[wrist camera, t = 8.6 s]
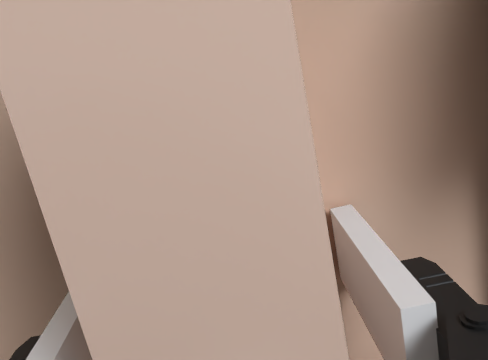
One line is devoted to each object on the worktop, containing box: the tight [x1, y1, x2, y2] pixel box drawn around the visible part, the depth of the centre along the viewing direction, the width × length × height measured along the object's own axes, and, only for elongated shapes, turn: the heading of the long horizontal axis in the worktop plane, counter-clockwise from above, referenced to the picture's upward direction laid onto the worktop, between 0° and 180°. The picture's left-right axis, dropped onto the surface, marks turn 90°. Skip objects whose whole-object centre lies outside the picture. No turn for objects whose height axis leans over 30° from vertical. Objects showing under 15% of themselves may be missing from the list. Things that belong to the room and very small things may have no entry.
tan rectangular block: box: [0, 0, 349, 360], centre depth 12 cm, size 4×20×9 cm, turn 12°
